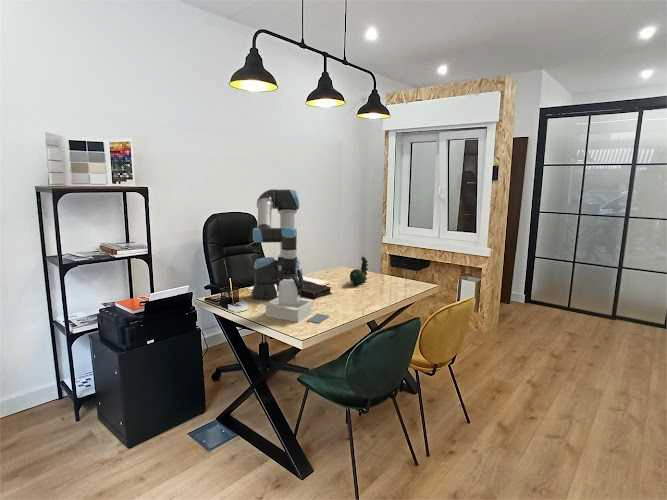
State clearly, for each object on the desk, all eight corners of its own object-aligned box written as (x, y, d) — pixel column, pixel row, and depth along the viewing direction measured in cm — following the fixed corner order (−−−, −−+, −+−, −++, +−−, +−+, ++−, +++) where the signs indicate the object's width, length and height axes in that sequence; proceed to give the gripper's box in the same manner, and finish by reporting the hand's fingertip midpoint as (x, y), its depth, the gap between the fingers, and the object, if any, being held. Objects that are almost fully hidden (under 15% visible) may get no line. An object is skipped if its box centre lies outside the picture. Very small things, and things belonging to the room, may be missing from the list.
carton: (263, 317, 201) (263, 304, 199) (282, 307, 218) (282, 295, 217) (295, 323, 193) (295, 310, 192) (313, 312, 210) (313, 299, 209)
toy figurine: (357, 281, 285) (345, 286, 262) (359, 255, 284) (347, 258, 261) (370, 283, 282) (359, 288, 259) (372, 256, 280) (360, 259, 257)
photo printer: (278, 304, 202) (278, 280, 200) (279, 301, 206) (279, 278, 204) (298, 303, 203) (299, 280, 201) (298, 301, 207) (299, 278, 205)
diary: (313, 301, 233) (313, 292, 232) (283, 293, 248) (283, 285, 247) (333, 294, 248) (333, 286, 247) (303, 287, 263) (303, 279, 262)
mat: (306, 321, 197) (306, 320, 197) (317, 314, 208) (317, 313, 207) (319, 323, 194) (319, 322, 194) (329, 316, 205) (329, 315, 205)
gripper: (266, 256, 201) (266, 298, 206) (305, 261, 192) (304, 304, 197) (274, 253, 208) (274, 294, 212) (312, 258, 199) (311, 300, 203)
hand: (288, 299), depth 204 cm, fingers closed on photo printer, 10 cm apart
